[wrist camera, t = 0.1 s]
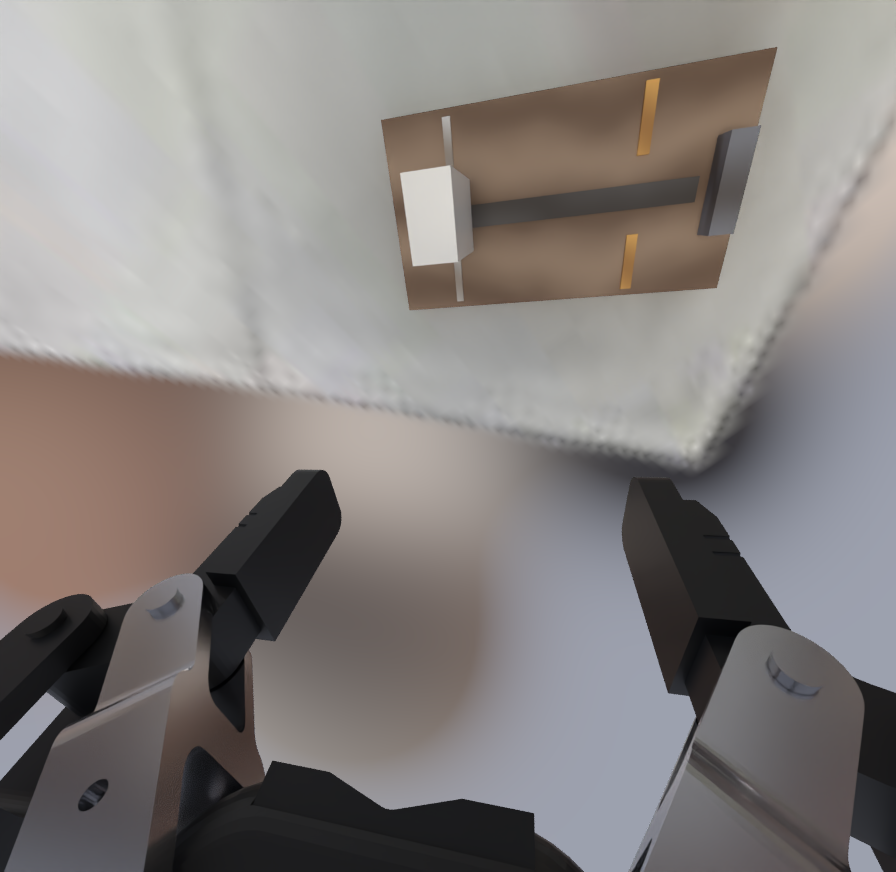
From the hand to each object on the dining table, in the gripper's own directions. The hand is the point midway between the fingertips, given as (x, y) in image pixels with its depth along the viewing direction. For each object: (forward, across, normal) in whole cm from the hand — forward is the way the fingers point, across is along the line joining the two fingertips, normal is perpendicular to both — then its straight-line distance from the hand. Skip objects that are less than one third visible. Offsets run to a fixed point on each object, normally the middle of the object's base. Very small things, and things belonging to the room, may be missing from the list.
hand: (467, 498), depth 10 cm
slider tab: (+27, +4, -7) cm, 28 cm away
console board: (+29, -4, -7) cm, 30 cm away
